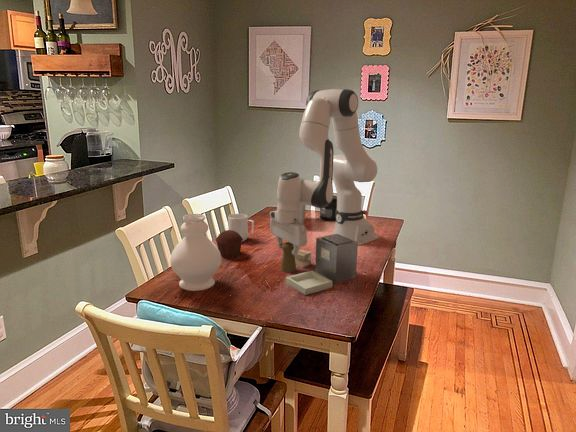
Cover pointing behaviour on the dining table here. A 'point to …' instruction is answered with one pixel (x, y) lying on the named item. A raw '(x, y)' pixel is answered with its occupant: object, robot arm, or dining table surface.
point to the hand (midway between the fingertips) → (287, 251)
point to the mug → (240, 224)
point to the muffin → (229, 243)
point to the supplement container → (329, 210)
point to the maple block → (303, 258)
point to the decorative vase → (195, 255)
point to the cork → (288, 258)
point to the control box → (336, 257)
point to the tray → (309, 282)
